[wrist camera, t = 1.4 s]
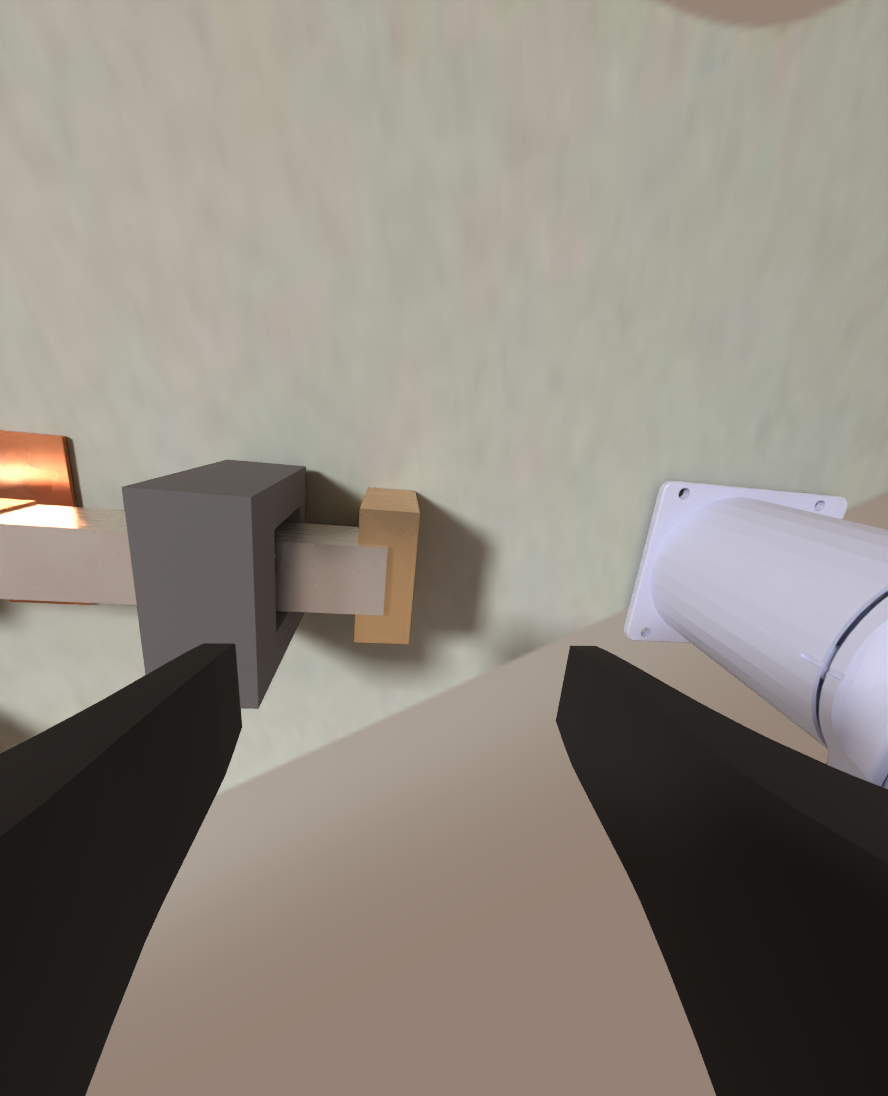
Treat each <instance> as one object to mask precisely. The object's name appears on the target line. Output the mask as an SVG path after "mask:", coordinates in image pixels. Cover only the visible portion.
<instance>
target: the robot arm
mask: <svg viewBox="0 0 888 1096" xmlns="http://www.w3.org/2000/svg"><path fill="white" fill-rule="evenodd" d="M681 489H684V493H683V495H682V496H681V497H679V492H680V490H681ZM816 503H817V505H816ZM815 505H816V507H815ZM846 508H847V501H846V499H845V498H843V497H839V496H832V495H821V494H810V493H800V492H789V491H778V490H768V489H757V488H746V487H736V486H725V485H715V484H704V483H693V482H683V481H667V482H665V483H664V484H663V485H662V486H661V487H660V489H659V492H658V496H657V500H656V504H655V508H654V512H653V516H652V520H651V524H650V528H649V532H648V536H647V539H646V543H645V547H644V551H643V555H642V559H641V563H640V567H639V571H638V575H637V579H636V583H635V586H634V590H633V594H632V598H631V602H630V606H629V610H628V614H627V618H626V622H625V626H624V634H625V635H626V636H627V637H628V638H629V639H630V640H634V641H659V642H660V641H661V642H686V643H692V644H693V645H695V646H696V647H697V648H699V649H700V650H701V651H702V652H704V653H705V654H706V655H708V656H709V657H710V658H711V659H713V660H714V661H715V662H717V663H718V664H719V665H720V666H722V667H723V668H724V669H726V670H727V671H728V672H729V673H731V674H732V675H734V676H735V677H736V678H737V679H739V680H740V681H741V682H742V683H744V684H745V685H746V686H748V687H749V688H750V689H751V690H753V691H754V692H755V693H757V694H758V695H759V696H760V697H762V698H763V699H764V700H766V701H767V702H768V703H769V704H771V705H772V706H773V707H775V708H776V709H777V710H778V711H780V712H781V713H782V714H784V715H785V716H786V717H787V718H789V719H790V720H791V721H793V722H794V723H795V724H796V725H798V726H799V727H800V728H802V729H803V730H804V731H806V732H807V733H808V734H809V735H811V736H812V737H813V738H815V739H816V740H817V741H818V742H820V743H821V744H822V745H824V746H825V747H826V748H827V749H828V759H827V763H826V764H824V763H822V762H820V761H818V760H815V759H813V758H811V757H809V756H807V755H804V754H802V753H800V752H798V751H795V750H793V749H791V748H789V747H786V746H784V745H782V744H780V743H778V742H776V741H773V740H771V739H769V738H767V737H765V736H763V735H761V734H759V733H757V732H755V731H753V730H751V729H749V728H747V727H745V726H743V725H741V724H739V723H737V722H735V721H733V720H731V719H729V718H728V717H726V716H724V715H722V714H720V713H718V712H716V711H714V710H712V709H710V708H708V707H707V706H705V705H703V704H701V703H699V702H697V701H696V700H694V699H692V698H690V697H688V696H686V695H685V694H683V693H681V692H679V691H678V690H676V689H674V688H672V687H670V686H669V685H667V684H665V683H664V682H662V681H660V680H658V679H657V678H655V677H653V676H651V675H649V674H648V673H646V672H644V671H643V670H641V669H639V668H637V667H635V666H634V665H632V664H630V663H628V662H626V661H625V660H623V659H621V658H619V657H617V656H616V655H614V654H612V653H610V652H608V651H606V650H604V649H601V648H599V647H597V646H570V650H569V655H568V660H567V666H566V671H565V676H564V681H563V687H562V692H561V697H560V702H559V707H558V713H557V718H556V722H557V725H558V728H559V731H560V734H561V737H562V740H563V743H564V745H565V748H566V751H567V754H568V756H569V758H570V761H571V764H572V766H573V768H574V770H575V772H576V774H577V776H578V778H579V780H580V782H581V784H582V786H583V788H584V790H585V792H586V794H587V796H588V798H589V800H590V802H591V804H592V806H593V808H594V810H595V812H596V813H597V815H598V817H599V819H600V821H601V823H602V825H603V827H604V829H605V831H606V833H607V835H608V837H609V839H610V841H611V843H612V844H613V847H614V848H615V850H616V852H617V854H618V856H619V858H620V860H621V862H622V864H623V866H624V868H625V870H626V872H627V874H628V876H629V878H630V880H631V882H632V884H633V887H634V889H635V891H636V893H637V895H638V897H639V899H640V901H641V904H642V906H643V908H644V911H645V913H646V916H647V918H648V920H649V923H650V925H651V928H652V930H653V933H654V935H655V938H656V940H657V942H658V945H659V947H660V950H661V952H662V954H663V957H664V959H665V962H666V964H667V967H668V969H669V972H670V974H671V977H672V979H673V982H674V984H675V987H676V990H677V992H678V995H679V998H680V1000H681V1003H682V1005H683V1008H684V1010H685V1013H686V1015H687V1018H688V1021H689V1023H690V1026H691V1028H692V1031H693V1034H694V1036H695V1039H696V1041H697V1044H698V1046H699V1049H700V1052H701V1055H702V1057H703V1060H704V1063H705V1066H706V1068H707V1071H708V1074H709V1077H710V1079H711V1082H712V1085H713V1088H714V1091H715V1093H716V1096H888V530H886V529H881V528H877V527H873V526H868V525H865V524H860V523H856V522H851V521H847V520H843V519H842V518H843V516H844V513H845V511H846ZM644 628H647V629H646V631H645V632H643V633H641V631H642V630H643V629H644ZM241 728H242V720H241V707H240V695H239V683H238V670H237V658H236V645H235V644H227V643H203V644H201V645H199V646H197V647H195V648H193V649H191V650H189V651H187V652H185V653H184V654H182V655H180V656H178V657H176V658H175V659H173V660H171V661H169V662H168V663H166V664H164V665H162V666H161V667H159V668H157V669H156V670H154V671H152V672H150V673H149V674H147V675H145V676H143V677H142V678H140V679H138V680H136V681H135V682H133V683H131V684H129V685H128V686H126V687H124V688H123V689H121V690H119V691H117V692H116V693H114V694H112V695H110V696H109V697H107V698H105V699H103V700H102V701H100V702H98V703H96V704H94V705H92V706H90V707H89V708H87V709H85V710H83V711H81V712H79V713H77V714H76V715H74V716H72V717H70V718H68V719H66V720H64V721H62V722H61V723H59V724H57V725H55V726H53V727H51V728H49V729H47V730H46V731H44V732H42V733H40V734H38V735H36V736H34V737H32V738H31V739H29V740H27V741H25V742H23V743H21V744H19V745H17V746H15V747H13V748H11V749H9V750H7V751H5V752H3V753H1V754H0V1096H85V1095H86V1092H87V1089H88V1087H89V1084H90V1082H91V1079H92V1076H93V1074H94V1071H95V1068H96V1065H97V1063H98V1060H99V1058H100V1055H101V1053H102V1050H103V1047H104V1044H105V1042H106V1039H107V1037H108V1034H109V1031H110V1029H111V1026H112V1024H113V1021H114V1018H115V1016H116V1014H117V1011H118V1009H119V1006H120V1003H121V1001H122V998H123V996H124V994H125V991H126V988H127V986H128V983H129V981H130V978H131V976H132V973H133V971H134V968H135V966H136V963H137V961H138V958H139V956H140V953H141V951H142V948H143V946H144V943H145V941H146V939H147V936H148V934H149V932H150V930H151V928H152V925H153V923H154V921H155V919H156V917H157V914H158V912H159V910H160V908H161V906H162V904H163V902H164V900H165V897H166V895H167V893H168V891H169V889H170V887H171V885H172V883H173V881H174V879H175V877H176V875H177V873H178V871H179V869H180V867H181V865H182V863H183V860H184V859H185V857H186V855H187V853H188V851H189V849H190V847H191V845H192V843H193V841H194V839H195V837H196V834H197V833H198V830H199V828H200V827H201V825H202V822H203V820H204V818H205V816H206V814H207V812H208V810H209V808H210V806H211V804H212V802H213V800H214V798H215V796H216V794H217V792H218V790H219V787H220V785H221V783H222V781H223V779H224V777H225V774H226V772H227V769H228V766H229V763H230V761H231V758H232V755H233V752H234V749H235V746H236V743H237V740H238V737H239V734H240V731H241Z"/></svg>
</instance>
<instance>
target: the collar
mask: <svg viewBox="0 0 888 1096" xmlns="http://www.w3.org/2000/svg"><path fill="white" fill-rule="evenodd" d="M122 493H123V501H124V509H125V517H126V525H127V532H128V540H129V548H130V556H131V564H132V572H133V580H134V587H135V595H136V603H137V611H138V619H139V627H140V634H141V642H142V650H143V658H144V666H145V674H146V675H147V674H149V673H150V672H152V671H154V670H156V669H157V668H159V667H161V666H162V665H164V664H166V663H168V662H169V661H171V660H173V659H175V658H176V657H178V656H180V655H182V654H184V653H185V652H187V651H189V650H191V649H193V648H195V647H197V646H199V645H201V644H203V643H227V644H235V645H236V658H237V670H238V683H239V695H240V707H241V708H253V709H258V708H259V706H260V704H261V702H262V700H263V698H264V696H265V694H266V692H267V690H268V687H269V685H270V683H271V681H272V679H273V677H274V675H275V673H276V671H277V669H278V666H279V664H280V662H281V660H282V658H283V656H284V654H285V652H286V650H287V648H288V646H289V643H290V641H291V639H292V637H293V635H294V633H295V631H296V629H297V627H298V625H299V622H300V620H301V618H302V616H303V614H304V612H287V611H276V594H275V543H274V529H276V528H277V527H278V526H279V525H280V524H281V523H282V522H293V523H306V467H304V466H293V465H282V464H270V463H259V462H248V461H236V460H224V461H221V462H217V463H213V464H209V465H205V466H201V467H197V468H194V469H190V470H186V471H182V472H178V473H174V474H170V475H167V476H163V477H159V478H155V479H151V480H147V481H143V482H140V483H136V484H132V485H128V486H124V487H122Z"/></svg>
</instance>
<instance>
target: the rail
mask: <svg viewBox="0 0 888 1096" xmlns="http://www.w3.org/2000/svg"><path fill="white" fill-rule="evenodd" d="M419 519H420V511H419V506H418V502H417V497H416V493H415V491H406V490H394V489H382V488H369V487H368V489H367V492H366V494H365V497H364V499H363V501H362V504H361V506H360V512H359V527H350V526H336V525H322V524H308V523H293V522H282V523H281V524H280V525H279V526H278V527H277V528H276V529H274V543H275V594H276V611H287V612H310V613H333V614H355V630H354V642H362V643H390V644H409V635H410V623H411V612H412V600H413V589H414V577H415V565H416V554H417V542H418V531H419ZM0 599H10V601H11V602H34V603H57V604H81V605H90V604H91V603H104V604H127V605H137V603H136V595H135V587H134V580H133V572H132V564H131V556H130V548H129V540H128V532H127V525H126V517H125V511H124V510H109V509H95V508H81V507H77V505H76V499H75V492H74V486H73V480H72V474H71V468H70V462H69V455H68V449H67V443H66V437H65V436H58V435H47V434H36V433H25V432H14V431H3V430H0Z"/></svg>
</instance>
